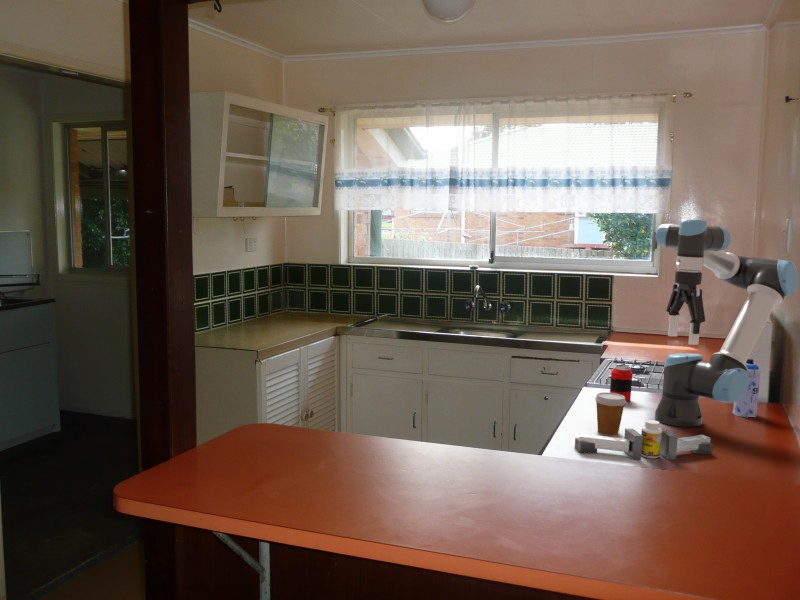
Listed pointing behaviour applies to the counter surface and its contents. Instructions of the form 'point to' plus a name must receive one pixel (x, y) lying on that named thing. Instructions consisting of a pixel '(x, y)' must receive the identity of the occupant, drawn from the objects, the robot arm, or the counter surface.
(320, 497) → the counter surface
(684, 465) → the counter surface
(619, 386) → the soda can
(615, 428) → the disposable coffee cup
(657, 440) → the supplement bottle
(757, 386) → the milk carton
